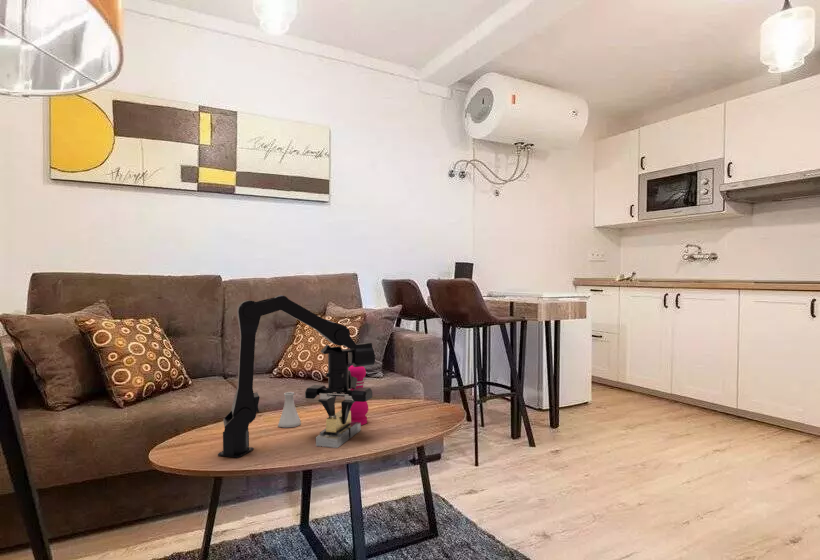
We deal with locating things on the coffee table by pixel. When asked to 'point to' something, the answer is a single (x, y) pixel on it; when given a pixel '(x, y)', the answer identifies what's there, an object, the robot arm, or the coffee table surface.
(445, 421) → the coffee table surface
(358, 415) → the pepper mill
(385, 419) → the coffee table surface
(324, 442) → the grey metal base
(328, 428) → the link bar
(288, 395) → the flask
